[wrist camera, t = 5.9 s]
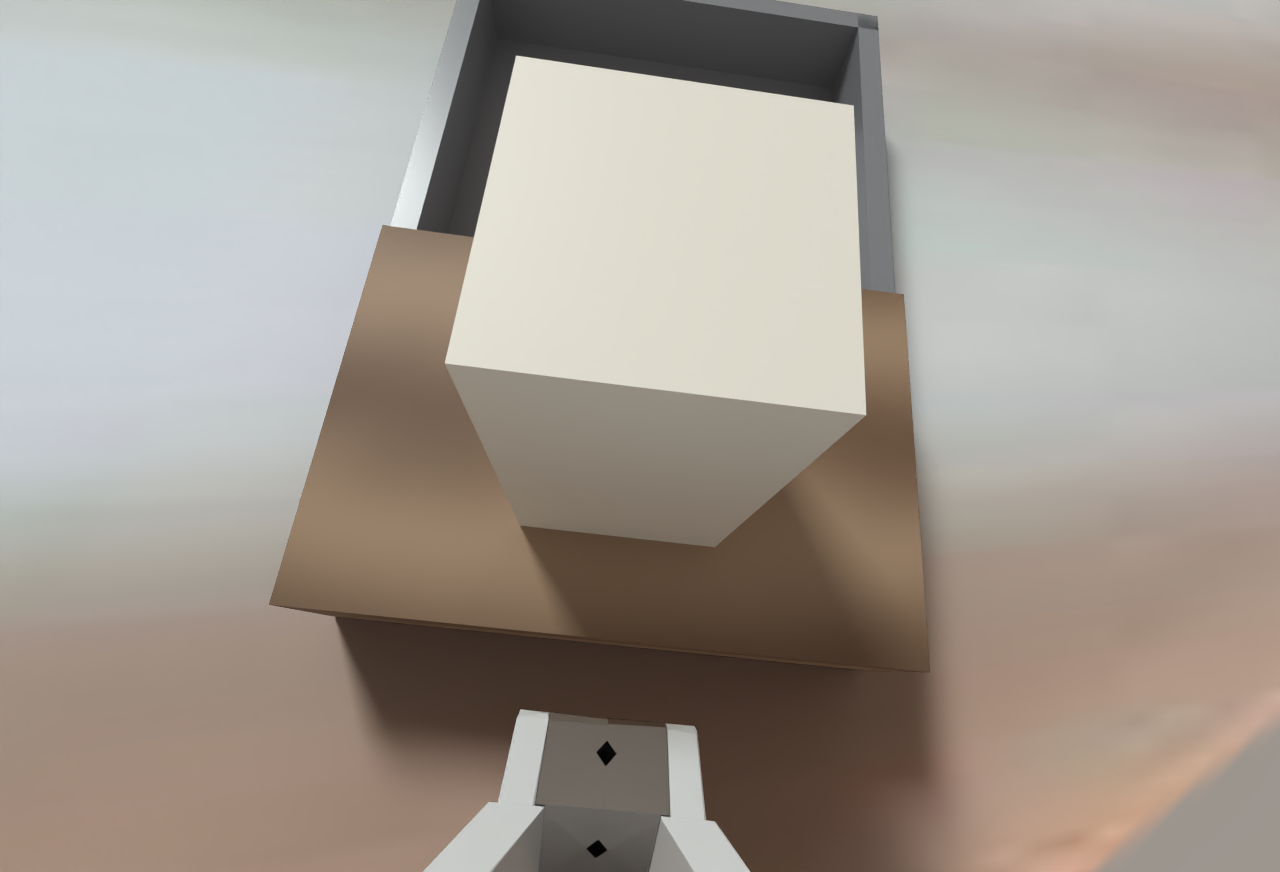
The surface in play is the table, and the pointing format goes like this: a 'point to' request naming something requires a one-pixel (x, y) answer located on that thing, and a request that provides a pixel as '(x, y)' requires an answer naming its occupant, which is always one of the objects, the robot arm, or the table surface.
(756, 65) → the bin
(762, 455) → the block
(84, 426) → the table surface
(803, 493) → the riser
